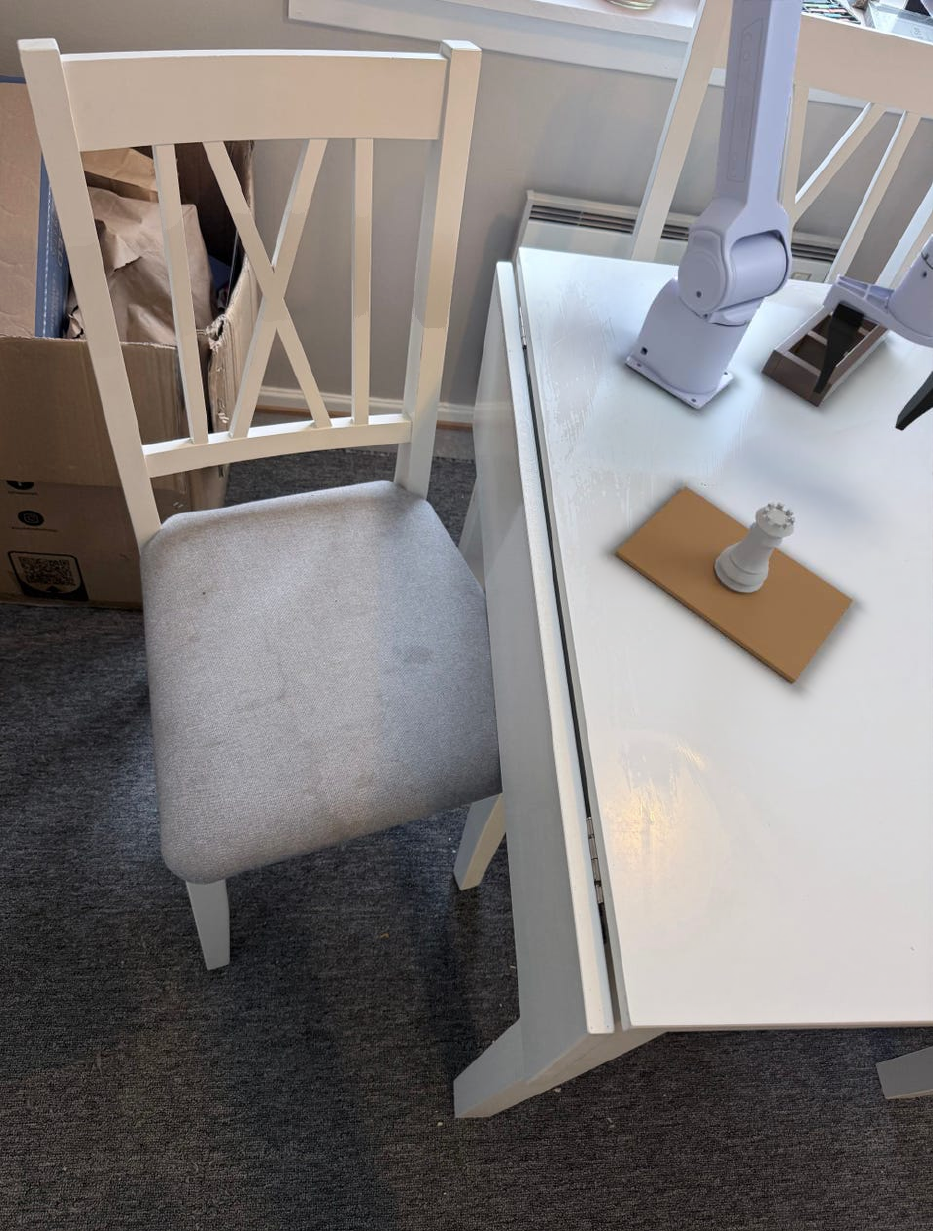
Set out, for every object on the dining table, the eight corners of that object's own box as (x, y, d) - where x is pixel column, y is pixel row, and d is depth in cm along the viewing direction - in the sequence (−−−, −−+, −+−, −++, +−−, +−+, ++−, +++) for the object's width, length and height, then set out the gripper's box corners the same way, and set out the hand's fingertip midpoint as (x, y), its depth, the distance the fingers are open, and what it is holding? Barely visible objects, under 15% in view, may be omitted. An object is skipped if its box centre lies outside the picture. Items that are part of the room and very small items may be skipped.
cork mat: (615, 554, 73) (616, 550, 73) (683, 489, 79) (685, 485, 79) (792, 683, 68) (795, 680, 68) (850, 603, 75) (853, 599, 74)
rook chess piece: (752, 604, 72) (798, 544, 65) (705, 578, 72) (746, 516, 66) (767, 572, 74) (813, 511, 68) (722, 547, 75) (763, 485, 69)
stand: (761, 371, 93) (773, 349, 91) (831, 309, 103) (844, 287, 101) (818, 407, 91) (832, 385, 89) (884, 339, 101) (898, 318, 99)
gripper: (1052, 280, 65) (942, 415, 76) (874, 207, 67) (792, 349, 78) (1049, 323, 61) (933, 459, 72) (860, 244, 63) (774, 388, 74)
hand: (858, 405), depth 74 cm, fingers open, 7 cm apart
